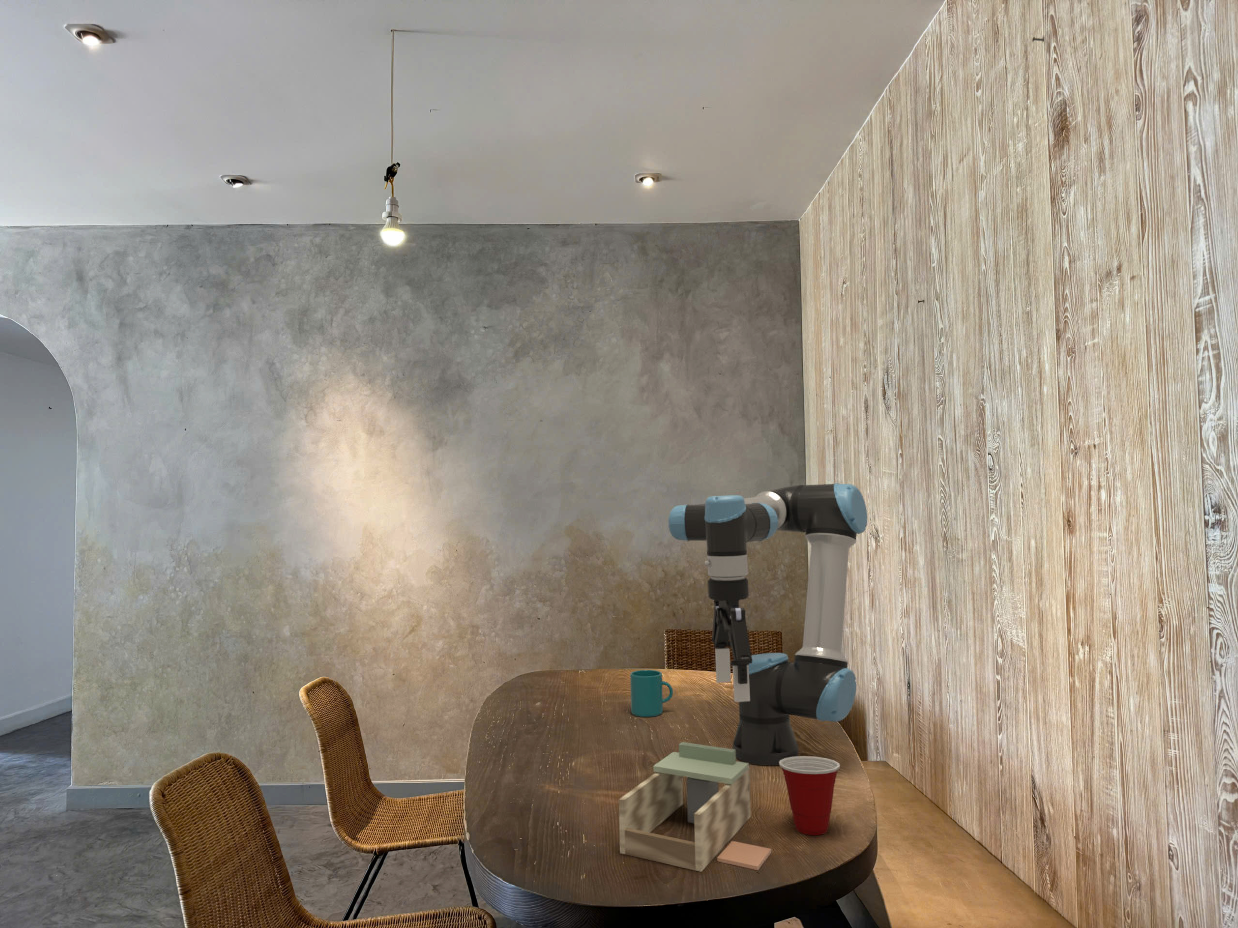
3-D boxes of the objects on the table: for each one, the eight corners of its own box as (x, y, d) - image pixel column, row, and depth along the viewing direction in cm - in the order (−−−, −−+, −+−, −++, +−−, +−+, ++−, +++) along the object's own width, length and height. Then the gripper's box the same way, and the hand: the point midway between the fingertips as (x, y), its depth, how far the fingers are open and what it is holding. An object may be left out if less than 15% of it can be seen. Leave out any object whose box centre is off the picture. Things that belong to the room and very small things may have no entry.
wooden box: (678, 803, 152) (677, 756, 153) (750, 816, 145) (749, 768, 145) (619, 852, 131) (618, 799, 132) (701, 871, 124) (699, 814, 124)
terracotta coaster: (732, 844, 133) (732, 840, 134) (771, 852, 130) (771, 848, 130) (717, 861, 127) (717, 857, 127) (757, 870, 124) (757, 866, 124)
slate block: (697, 813, 147) (696, 770, 148) (719, 817, 145) (718, 774, 145) (687, 821, 143) (686, 778, 144) (710, 826, 141) (709, 782, 141)
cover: (673, 756, 152) (673, 739, 152) (748, 768, 144) (748, 750, 145) (653, 771, 144) (652, 752, 144) (732, 784, 136) (731, 764, 137)
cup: (674, 717, 213) (673, 676, 213) (631, 717, 213) (630, 677, 213) (672, 708, 222) (671, 669, 222) (631, 709, 222) (630, 669, 222)
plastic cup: (834, 815, 145) (832, 751, 145) (849, 841, 134) (846, 771, 134) (776, 815, 145) (774, 751, 146) (786, 841, 134) (784, 771, 135)
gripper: (694, 571, 156) (698, 676, 156) (724, 586, 132) (729, 711, 131) (730, 569, 157) (734, 673, 157) (766, 584, 132) (772, 708, 132)
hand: (732, 691), depth 144 cm, fingers open, 13 cm apart
